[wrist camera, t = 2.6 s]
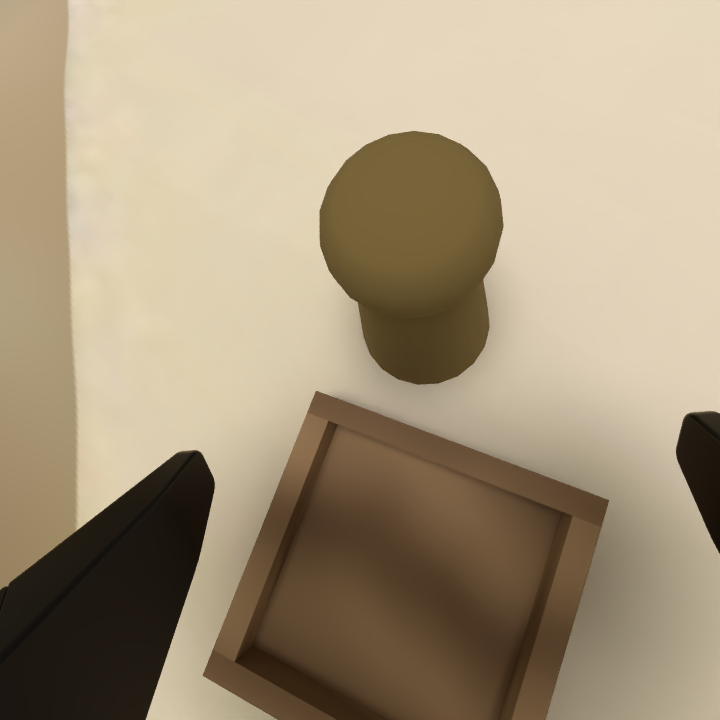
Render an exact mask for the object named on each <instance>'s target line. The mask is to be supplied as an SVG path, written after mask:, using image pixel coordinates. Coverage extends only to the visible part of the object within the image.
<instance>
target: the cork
mask: <svg viewBox="0 0 720 720" xmlns="http://www.w3.org/2000/svg"><path fill="white" fill-rule="evenodd" d="M502 230H503V217H502V207H501V199H500V195H499V191H498V189H497V187H496V185H495V183H494V181H493V179H492V177H491V175H490V173H489V171H488V169H487V167H486V166H485V165H484V164H483V163H482V162H481V161H480V160H479V159H478V158H477V157H476V156H475V155H474V154H473V153H472V152H471V151H469V150H468V149H467V148H466V147H464V146H463V145H461V144H459V143H457V142H455V141H452V140H450V139H448V138H446V137H444V136H441V135H439V134H433V133H425V132H417V131H411V132H404V133H398V134H391V135H387V136H385V137H383V138H380V139H378V140H376V141H374V142H371V143H369V144H367V145H365V146H364V147H362V148H361V149H360V150H359V151H357V152H356V153H355V154H354V155H352V156H351V157H350V158H349V159H348V160H346V162H345V163H344V164H343V166H342V167H341V169H340V170H339V171H338V173H337V174H336V176H335V177H334V178H333V180H332V181H331V183H330V184H329V186H328V188H327V191H326V194H325V197H324V200H323V203H322V206H321V209H320V247H321V249H322V252H323V255H324V258H325V261H326V263H327V266H328V269H329V271H330V273H331V274H332V276H333V277H334V279H335V280H336V281H337V282H338V283H339V285H340V286H341V287H342V288H343V289H344V291H345V292H346V293H347V294H348V295H349V297H350V298H352V299H354V300H355V301H357V302H358V306H359V312H360V317H361V323H362V329H363V335H364V339H365V341H366V344H367V347H368V349H369V352H370V354H371V356H372V357H373V358H374V359H375V361H376V362H377V363H378V364H379V366H380V367H381V368H382V369H383V370H385V371H386V372H388V373H389V374H391V375H392V376H394V377H396V378H397V379H399V380H403V381H407V382H411V383H414V384H435V383H440V382H443V381H446V380H448V379H451V378H454V377H456V376H458V375H460V374H461V373H462V372H463V371H465V370H466V369H467V368H468V367H470V366H471V365H472V364H473V363H474V362H475V360H476V359H477V357H478V356H479V354H480V353H481V351H482V350H483V348H484V347H485V343H486V339H487V335H488V331H489V318H488V308H487V301H486V295H485V289H484V283H483V279H484V277H485V275H486V274H487V272H488V271H489V269H490V268H491V266H492V265H493V263H494V261H495V257H496V253H497V249H498V246H499V242H500V238H501V234H502Z"/></svg>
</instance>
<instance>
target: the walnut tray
mask: <svg viewBox="0 0 720 720" xmlns="http://www.w3.org/2000/svg"><path fill="white" fill-rule="evenodd" d="M608 502H609V500H607V499H604V498H601V497H599V496H596V495H593V494H591V493H588V492H585V491H583V490H580V489H577V488H575V487H572V486H569V485H567V484H564V483H561V482H559V481H556V480H553V479H551V478H548V477H545V476H543V475H540V474H537V473H535V472H532V471H529V470H527V469H524V468H521V467H519V466H516V465H513V464H511V463H508V462H505V461H503V460H500V459H497V458H495V457H492V456H489V455H487V454H484V453H481V452H479V451H476V450H473V449H470V448H468V447H465V446H462V445H460V444H457V443H454V442H452V441H449V440H446V439H444V438H441V437H438V436H436V435H433V434H430V433H428V432H425V431H422V430H420V429H417V428H414V427H412V426H409V425H406V424H404V423H401V422H398V421H396V420H393V419H390V418H388V417H385V416H382V415H380V414H377V413H374V412H372V411H369V410H366V409H364V408H361V407H358V406H356V405H353V404H350V403H347V402H345V401H342V400H339V399H337V398H334V397H331V396H329V395H326V394H323V393H321V392H318V391H316V392H315V395H314V397H313V400H312V402H311V405H310V407H309V410H308V412H307V415H306V417H305V420H304V422H303V425H302V427H301V430H300V432H299V435H298V437H297V440H296V442H295V445H294V447H293V450H292V452H291V455H290V457H289V460H288V463H287V465H286V468H285V470H284V473H283V475H282V478H281V480H280V483H279V485H278V488H277V490H276V493H275V495H274V498H273V500H272V503H271V505H270V508H269V510H268V513H267V515H266V518H265V520H264V523H263V525H262V528H261V530H260V533H259V535H258V538H257V540H256V543H255V545H254V548H253V550H252V553H251V555H250V558H249V560H248V563H247V565H246V568H245V571H244V573H243V576H242V578H241V581H240V583H239V586H238V588H237V591H236V593H235V596H234V598H233V601H232V603H231V606H230V608H229V611H228V613H227V616H226V618H225V621H224V623H223V626H222V628H221V631H220V633H219V636H218V638H217V641H216V643H215V646H214V648H213V651H212V653H211V656H210V658H209V661H208V663H207V666H206V668H205V671H204V673H203V676H204V677H206V678H208V679H209V680H211V681H213V682H215V683H216V684H218V685H220V686H221V687H223V688H225V689H227V690H228V691H230V692H232V693H233V694H235V695H237V696H239V697H240V698H242V699H244V700H245V701H247V702H249V703H250V704H252V705H254V706H256V707H257V708H259V709H261V710H262V711H264V712H266V713H268V714H269V715H271V716H273V717H274V718H276V719H278V720H545V719H546V715H547V712H548V708H549V705H550V701H551V698H552V695H553V691H554V688H555V684H556V681H557V677H558V674H559V671H560V667H561V664H562V660H563V657H564V653H565V650H566V646H567V643H568V640H569V636H570V633H571V629H572V626H573V622H574V619H575V616H576V612H577V609H578V605H579V602H580V598H581V595H582V592H583V588H584V585H585V581H586V578H587V574H588V571H589V567H590V564H591V561H592V557H593V554H594V550H595V547H596V543H597V540H598V537H599V533H600V530H601V526H602V523H603V519H604V516H605V513H606V509H607V506H608Z"/></svg>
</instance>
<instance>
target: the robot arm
mask: <svg viewBox="0 0 720 720" xmlns="http://www.w3.org/2000/svg"><path fill="white" fill-rule="evenodd" d="M676 456H677V460H678V463H679V465H680V467H681V470H682V472H683V474H684V477H685V479H686V481H687V483H688V486H689V488H690V490H691V493H692V495H693V497H694V499H695V502H696V504H697V506H698V509H699V511H700V513H701V516H702V518H703V520H704V522H705V525H706V527H707V529H708V531H709V533H710V536H711V538H712V540H713V542H714V544H715V546H716V548H717V549H718V551H719V553H720V413H717V412H714V411H705V412H692V413H689V414H687V415H686V416H685V417H684V419H683V422H682V426H681V430H680V434H679V439H678V443H677V447H676ZM214 489H215V482H214V478H213V475H212V473H211V471H210V469H209V467H208V465H207V463H206V461H205V459H204V457H203V455H202V453H201V452H199V451H197V450H191V451H181V452H178V453H176V454H175V455H174V456H173V457H171V458H170V459H169V460H167V461H166V462H165V463H163V464H162V465H161V466H160V467H158V468H157V469H156V470H154V471H153V472H152V473H151V474H149V475H148V476H147V477H145V478H144V479H143V480H142V481H140V482H139V483H138V484H136V485H135V486H134V487H133V488H131V489H130V490H129V491H127V492H126V493H125V494H124V495H122V496H121V497H120V498H118V499H117V500H116V501H114V502H113V503H112V504H111V505H109V506H108V507H107V508H105V509H104V510H103V511H102V512H100V513H99V514H98V515H96V516H95V517H94V518H93V519H91V520H90V521H89V522H87V523H86V524H85V525H84V526H82V527H81V528H80V529H78V530H77V531H76V532H75V533H73V534H72V535H71V536H69V537H68V538H67V539H65V540H64V541H63V542H62V543H60V544H59V545H58V546H56V547H55V548H54V549H53V550H52V551H50V552H49V553H47V554H46V555H45V556H44V557H42V558H41V559H40V560H38V561H37V562H36V563H35V564H34V565H32V566H31V567H29V568H28V569H27V570H25V571H24V572H23V573H22V574H20V575H19V576H18V577H17V578H15V579H14V580H13V581H11V582H10V583H9V586H6V587H3V588H2V589H1V590H0V720H146V717H147V714H148V711H149V708H150V705H151V702H152V699H153V696H154V693H155V690H156V687H157V684H158V681H159V678H160V675H161V672H162V669H163V666H164V663H165V660H166V657H167V654H168V651H169V648H170V645H171V642H172V639H173V636H174V633H175V630H176V627H177V624H178V621H179V618H180V615H181V612H182V609H183V606H184V603H185V600H186V597H187V594H188V591H189V588H190V585H191V582H192V579H193V576H194V573H195V570H196V566H197V563H198V560H199V556H200V552H201V548H202V544H203V539H204V535H205V530H206V526H207V521H208V517H209V512H210V508H211V503H212V499H213V494H214Z"/></svg>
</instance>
